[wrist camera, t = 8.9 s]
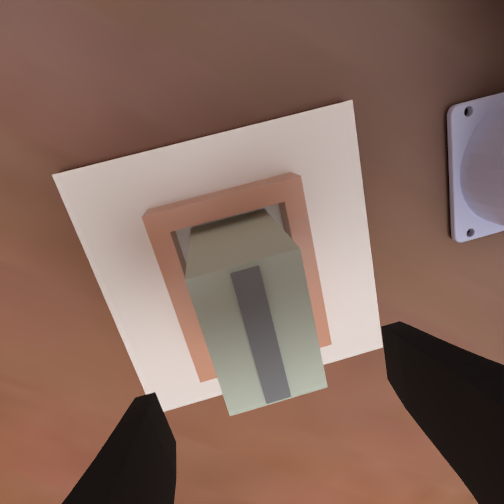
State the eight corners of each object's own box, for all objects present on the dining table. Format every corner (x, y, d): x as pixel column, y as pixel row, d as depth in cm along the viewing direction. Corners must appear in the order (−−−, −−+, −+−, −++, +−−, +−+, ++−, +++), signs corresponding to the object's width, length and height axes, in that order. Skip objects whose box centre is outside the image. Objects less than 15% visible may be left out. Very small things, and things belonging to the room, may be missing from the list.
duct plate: (344, 101, 18) (369, 95, 15) (375, 338, 23) (397, 364, 20) (59, 172, 17) (34, 179, 15) (156, 402, 22) (150, 438, 20)
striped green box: (286, 306, 20) (328, 389, 14) (220, 324, 20) (230, 419, 13) (264, 208, 18) (301, 249, 11) (190, 227, 18) (184, 281, 11)
